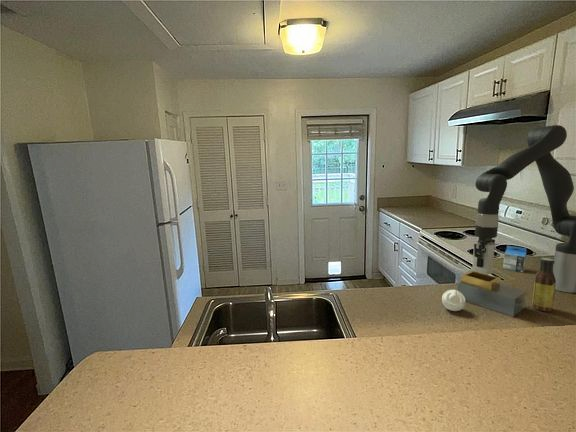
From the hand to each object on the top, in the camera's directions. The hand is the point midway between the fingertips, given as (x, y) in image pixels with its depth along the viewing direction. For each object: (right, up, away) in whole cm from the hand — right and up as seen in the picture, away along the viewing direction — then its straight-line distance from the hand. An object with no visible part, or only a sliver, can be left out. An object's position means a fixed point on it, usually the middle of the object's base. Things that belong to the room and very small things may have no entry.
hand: (482, 265), depth 124 cm
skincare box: (0, -3, +1) cm, 3 cm away
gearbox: (+2, -15, -1) cm, 15 cm away
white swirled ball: (-16, -16, -6) cm, 24 cm away
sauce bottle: (+19, -16, -6) cm, 26 cm away
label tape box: (+40, -9, +38) cm, 56 cm away
